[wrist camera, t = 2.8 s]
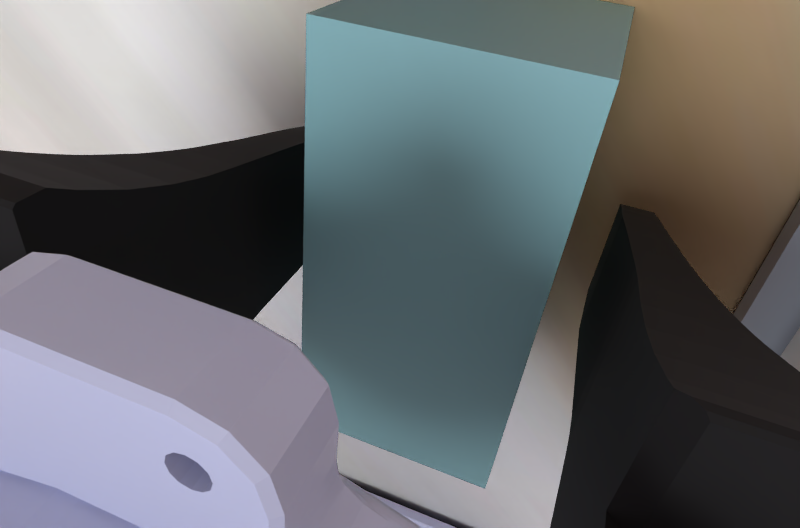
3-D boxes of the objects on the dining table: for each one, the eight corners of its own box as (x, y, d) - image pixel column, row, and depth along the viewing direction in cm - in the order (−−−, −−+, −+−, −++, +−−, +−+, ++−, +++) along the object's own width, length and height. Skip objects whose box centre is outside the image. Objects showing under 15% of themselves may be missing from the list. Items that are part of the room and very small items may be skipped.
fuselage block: (530, 332, 15) (485, 488, 11) (388, 286, 16) (300, 416, 12) (634, 5, 11) (619, 80, 7) (427, -33, 11) (306, 13, 8)
